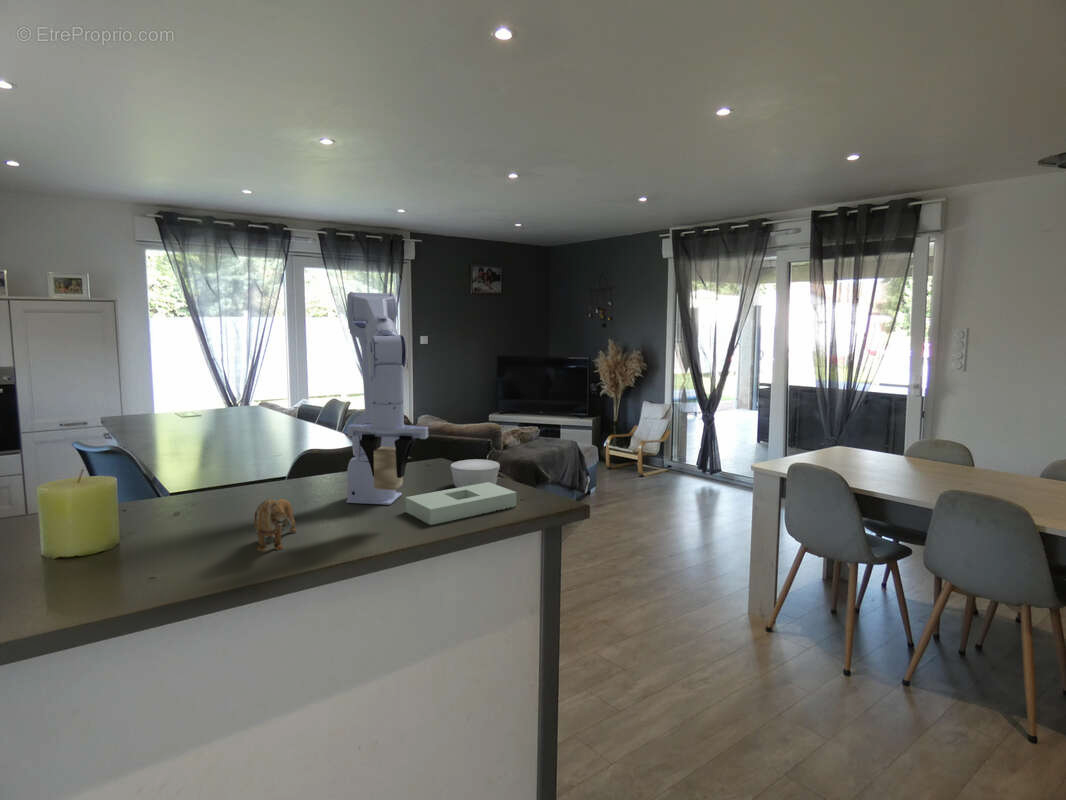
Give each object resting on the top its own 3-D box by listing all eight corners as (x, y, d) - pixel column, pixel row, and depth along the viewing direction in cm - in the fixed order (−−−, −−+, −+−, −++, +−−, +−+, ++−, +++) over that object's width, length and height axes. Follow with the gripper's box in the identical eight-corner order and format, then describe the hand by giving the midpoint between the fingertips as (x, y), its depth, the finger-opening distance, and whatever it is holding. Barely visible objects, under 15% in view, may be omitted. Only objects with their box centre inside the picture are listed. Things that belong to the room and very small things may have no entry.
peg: (374, 488, 112) (373, 450, 112) (382, 483, 116) (381, 446, 115) (395, 489, 112) (395, 451, 111) (402, 484, 116) (402, 447, 115)
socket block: (430, 525, 116) (430, 509, 115) (405, 511, 123) (405, 497, 123) (516, 506, 128) (516, 492, 128) (488, 495, 136) (488, 482, 135)
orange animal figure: (287, 557, 99) (285, 502, 98) (251, 560, 98) (248, 504, 97) (298, 527, 113) (296, 479, 112) (267, 529, 112) (265, 481, 111)
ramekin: (445, 482, 147) (445, 460, 146) (490, 478, 151) (490, 457, 150) (458, 495, 136) (458, 471, 136) (506, 490, 141) (506, 467, 140)
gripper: (339, 404, 109) (341, 479, 111) (420, 406, 108) (420, 483, 109) (355, 399, 116) (356, 470, 118) (431, 401, 115) (431, 473, 116)
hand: (388, 475), depth 114 cm, fingers closed on peg, 4 cm apart
